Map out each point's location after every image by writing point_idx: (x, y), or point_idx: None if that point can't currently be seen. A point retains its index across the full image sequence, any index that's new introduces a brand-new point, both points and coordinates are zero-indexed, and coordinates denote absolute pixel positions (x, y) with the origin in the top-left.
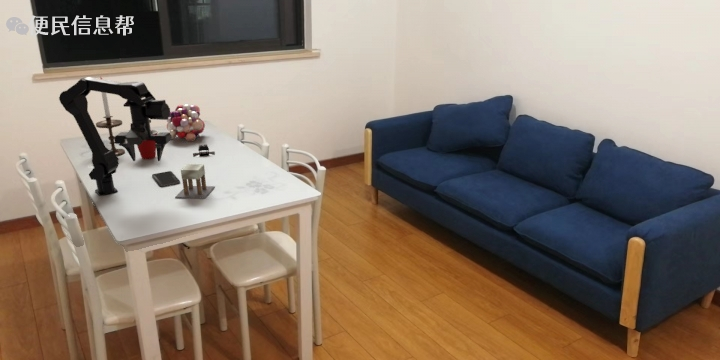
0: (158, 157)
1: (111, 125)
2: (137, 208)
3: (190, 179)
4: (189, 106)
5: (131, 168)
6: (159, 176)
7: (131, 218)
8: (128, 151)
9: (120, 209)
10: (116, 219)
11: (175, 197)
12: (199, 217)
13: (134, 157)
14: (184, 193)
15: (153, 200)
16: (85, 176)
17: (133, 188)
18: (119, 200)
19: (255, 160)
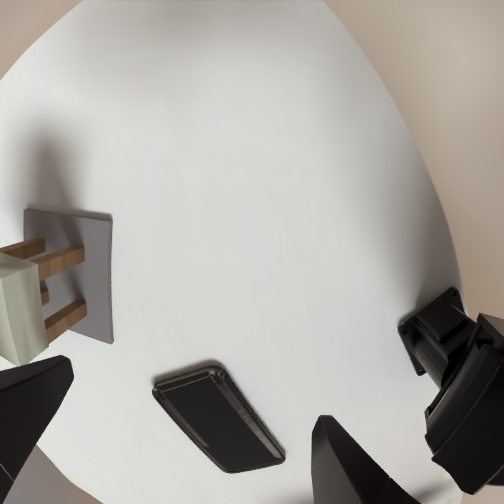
0: (33, 367)
1: None
2: (253, 104)
3: (51, 316)
4: None
5: None
6: (253, 448)
7: (247, 14)
8: (394, 494)
9: (333, 104)
10: (308, 13)
11: (110, 221)
12: (36, 59)
13: (318, 451)
14: (81, 248)
15: (201, 200)
16: None
17: (338, 363)
18: (373, 222)
19: (53, 455)
